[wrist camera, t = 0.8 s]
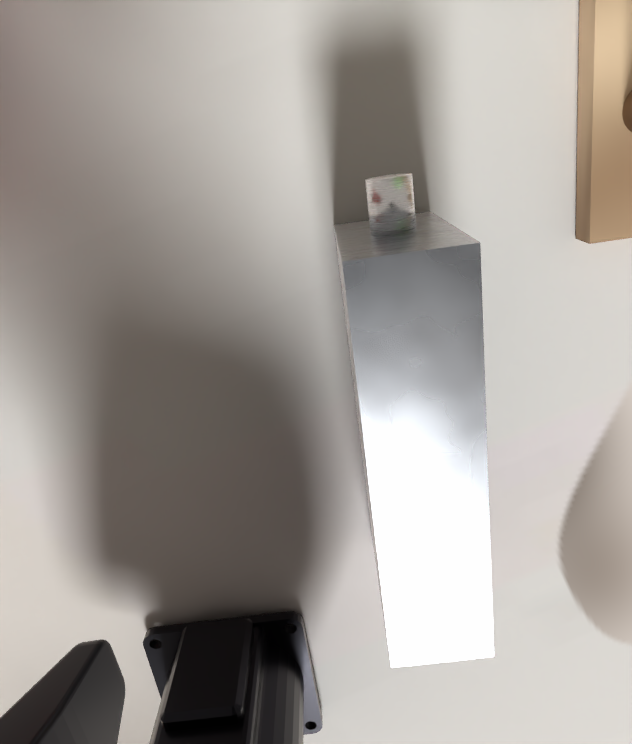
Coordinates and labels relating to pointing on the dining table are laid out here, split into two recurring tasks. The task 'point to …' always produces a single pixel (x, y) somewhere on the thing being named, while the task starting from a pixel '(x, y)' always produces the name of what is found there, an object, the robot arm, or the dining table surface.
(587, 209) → the tool rest
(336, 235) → the gray rectangular plank
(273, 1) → the dining table surface
